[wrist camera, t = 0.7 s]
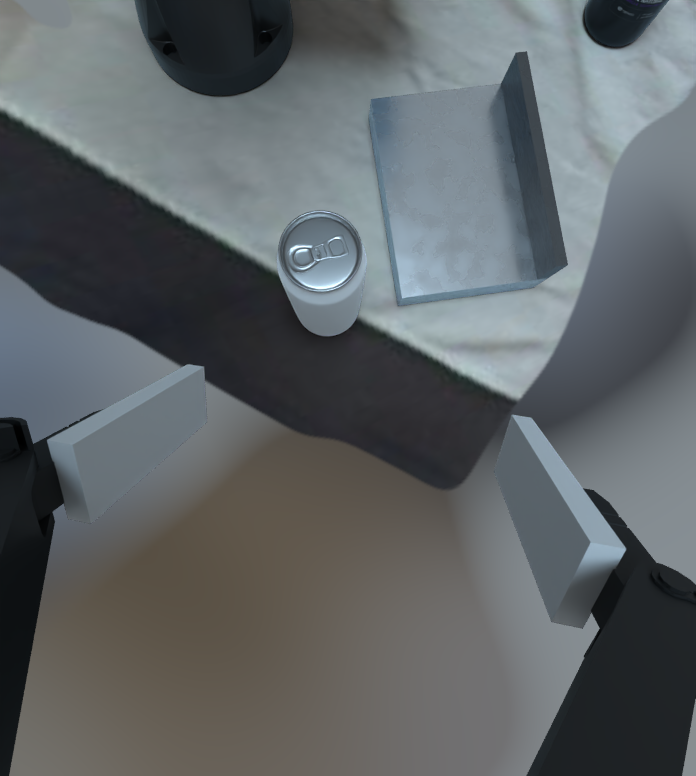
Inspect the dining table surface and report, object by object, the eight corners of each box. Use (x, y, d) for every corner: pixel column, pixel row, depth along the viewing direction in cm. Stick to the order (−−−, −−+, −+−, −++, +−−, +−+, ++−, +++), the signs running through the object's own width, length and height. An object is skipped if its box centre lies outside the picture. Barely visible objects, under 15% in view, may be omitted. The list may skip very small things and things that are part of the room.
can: (286, 285, 35) (258, 220, 23) (347, 266, 36) (350, 191, 24) (306, 346, 35) (289, 311, 23) (368, 325, 35) (382, 280, 23)
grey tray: (368, 120, 37) (373, 69, 31) (503, 104, 37) (531, 51, 32) (397, 306, 35) (408, 286, 30) (537, 287, 36) (572, 264, 30)
